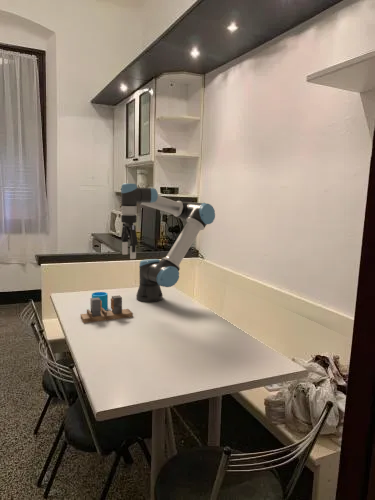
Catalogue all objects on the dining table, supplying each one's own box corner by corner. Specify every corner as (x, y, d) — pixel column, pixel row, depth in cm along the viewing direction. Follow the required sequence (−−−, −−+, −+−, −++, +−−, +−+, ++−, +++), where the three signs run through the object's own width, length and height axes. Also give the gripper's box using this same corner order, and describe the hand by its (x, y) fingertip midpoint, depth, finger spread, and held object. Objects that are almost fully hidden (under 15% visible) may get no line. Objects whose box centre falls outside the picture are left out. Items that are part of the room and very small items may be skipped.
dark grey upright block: (100, 313, 192) (99, 297, 191) (102, 315, 188) (101, 299, 187) (90, 314, 190) (90, 298, 189) (92, 316, 186) (92, 300, 185)
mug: (109, 310, 203) (109, 295, 202) (93, 312, 200) (93, 296, 198) (103, 304, 214) (103, 289, 213) (88, 305, 210) (88, 291, 209)
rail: (128, 312, 200) (128, 293, 199) (132, 316, 194) (132, 297, 192) (80, 318, 190) (80, 298, 188) (83, 322, 183) (83, 302, 182)
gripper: (114, 213, 204) (115, 253, 208) (129, 216, 182) (129, 261, 186) (128, 213, 208) (128, 252, 211) (144, 216, 186) (144, 260, 189)
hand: (128, 256), depth 198 cm, fingers open, 13 cm apart
